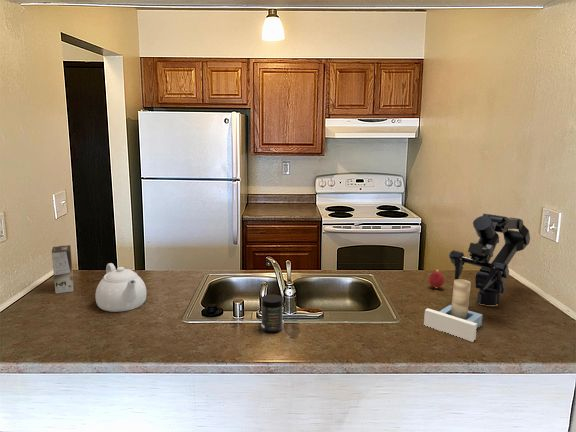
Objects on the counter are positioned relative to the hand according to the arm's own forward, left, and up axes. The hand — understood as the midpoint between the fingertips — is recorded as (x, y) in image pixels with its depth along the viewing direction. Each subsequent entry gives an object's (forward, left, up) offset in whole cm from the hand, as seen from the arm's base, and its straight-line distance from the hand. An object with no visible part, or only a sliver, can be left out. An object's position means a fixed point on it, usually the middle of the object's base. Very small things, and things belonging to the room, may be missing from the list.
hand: (469, 285), depth 152 cm
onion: (-3, -30, -13) cm, 32 cm away
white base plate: (+4, +4, -13) cm, 14 cm away
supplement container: (+65, +1, -13) cm, 67 cm away
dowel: (+5, +5, -11) cm, 13 cm away
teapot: (+117, -24, -13) cm, 120 cm away
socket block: (+5, +5, -12) cm, 14 cm away
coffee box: (+142, -40, -13) cm, 148 cm away
